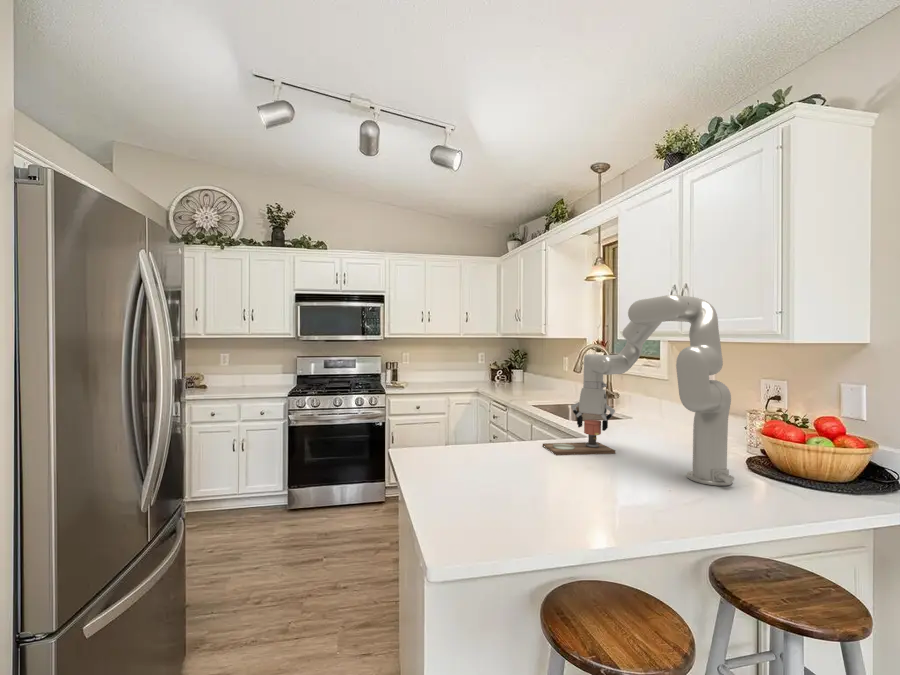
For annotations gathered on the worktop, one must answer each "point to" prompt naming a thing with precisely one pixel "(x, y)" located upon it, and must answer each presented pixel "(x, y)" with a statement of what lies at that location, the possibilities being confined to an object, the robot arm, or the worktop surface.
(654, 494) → the worktop surface
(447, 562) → the worktop surface
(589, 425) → the cap
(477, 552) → the worktop surface
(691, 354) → the robot arm
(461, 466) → the worktop surface
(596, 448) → the post board
